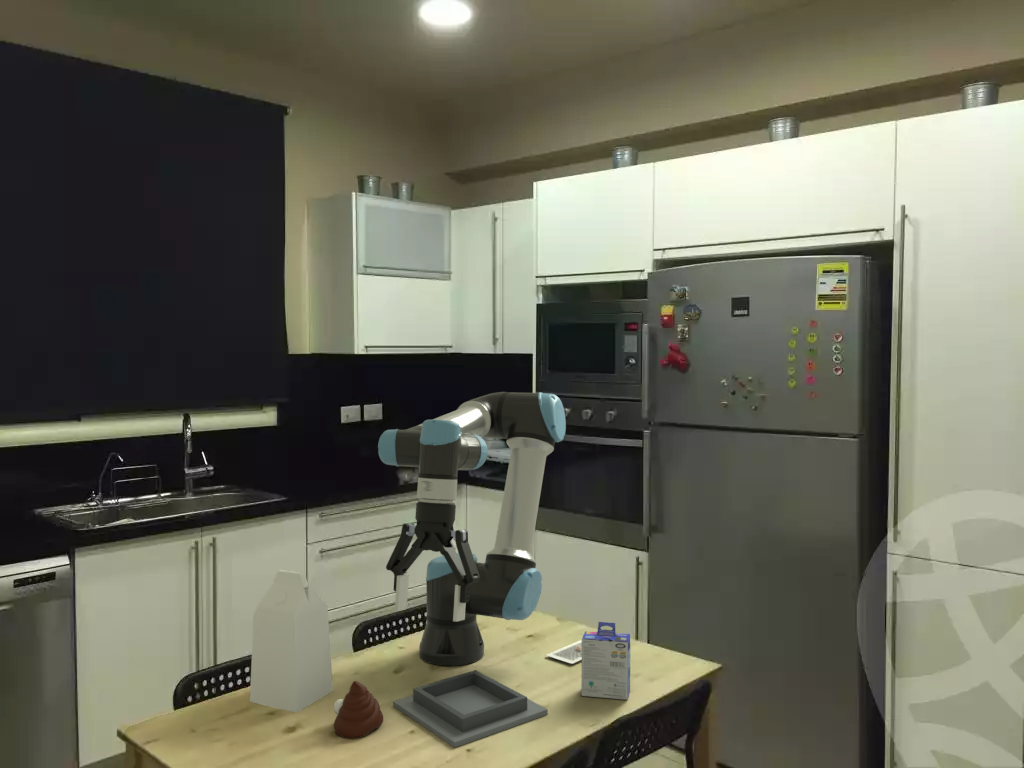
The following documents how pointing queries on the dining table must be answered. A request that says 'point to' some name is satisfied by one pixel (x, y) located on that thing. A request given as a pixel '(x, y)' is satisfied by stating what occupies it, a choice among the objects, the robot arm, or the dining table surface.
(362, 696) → the poop emoji
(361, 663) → the dining table surface
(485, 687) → the pocket plate
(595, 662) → the ink cartridge box
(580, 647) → the touchpad
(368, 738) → the dining table surface
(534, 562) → the robot arm
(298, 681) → the milk
